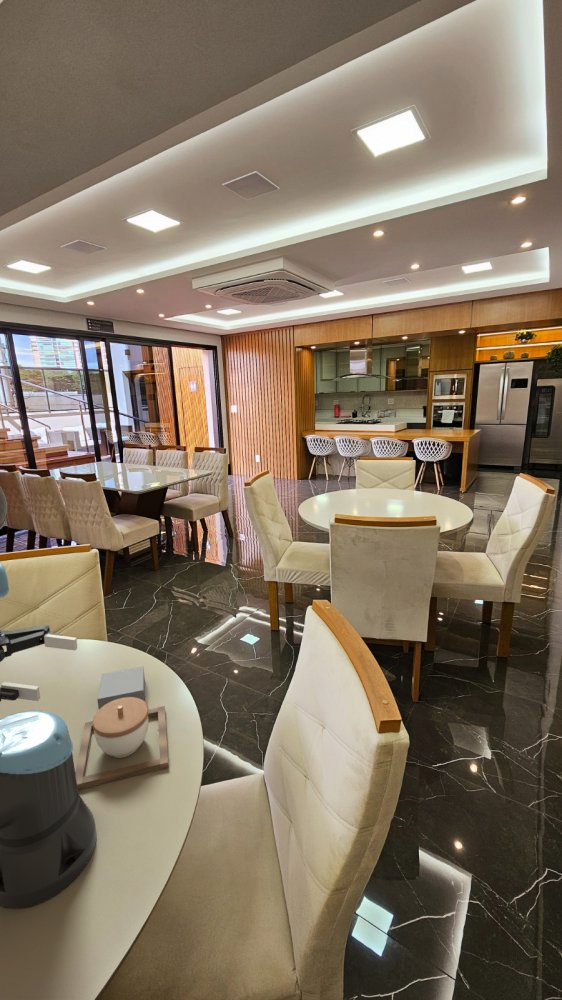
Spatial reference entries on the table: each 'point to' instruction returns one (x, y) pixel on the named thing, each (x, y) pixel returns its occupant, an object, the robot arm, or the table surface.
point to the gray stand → (121, 685)
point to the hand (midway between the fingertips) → (58, 667)
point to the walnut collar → (123, 771)
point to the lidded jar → (121, 726)
